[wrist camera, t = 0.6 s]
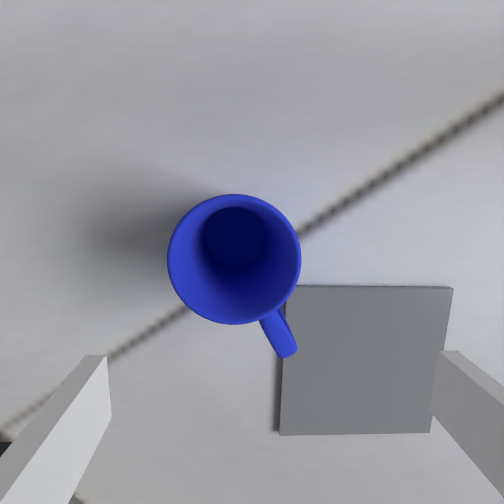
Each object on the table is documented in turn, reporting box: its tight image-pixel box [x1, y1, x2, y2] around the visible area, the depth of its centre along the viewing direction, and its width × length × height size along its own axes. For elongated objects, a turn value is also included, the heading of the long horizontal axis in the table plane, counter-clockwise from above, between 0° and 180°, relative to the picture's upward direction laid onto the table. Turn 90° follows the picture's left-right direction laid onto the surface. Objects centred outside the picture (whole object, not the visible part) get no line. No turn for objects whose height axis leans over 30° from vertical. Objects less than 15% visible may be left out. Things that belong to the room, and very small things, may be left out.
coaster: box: [279, 286, 454, 436], centre depth 33 cm, size 16×16×1 cm
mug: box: [167, 194, 301, 358], centre depth 25 cm, size 8×12×10 cm
